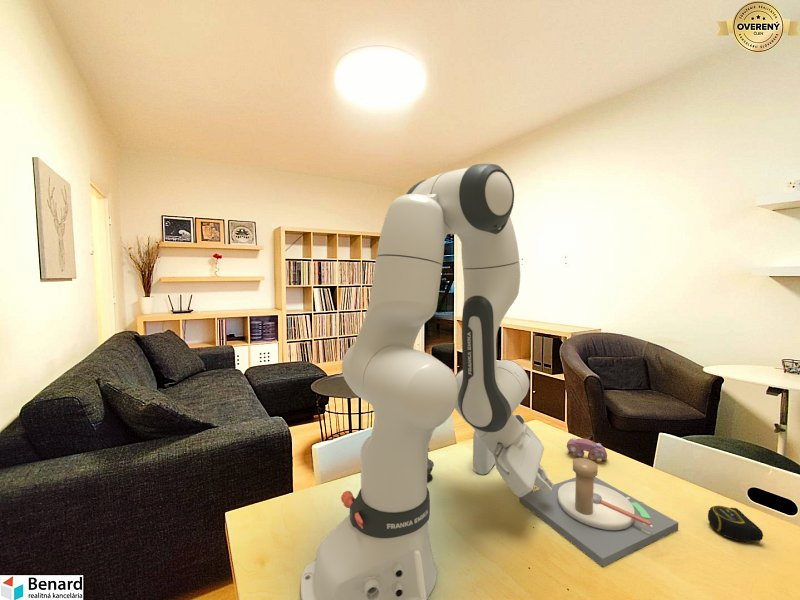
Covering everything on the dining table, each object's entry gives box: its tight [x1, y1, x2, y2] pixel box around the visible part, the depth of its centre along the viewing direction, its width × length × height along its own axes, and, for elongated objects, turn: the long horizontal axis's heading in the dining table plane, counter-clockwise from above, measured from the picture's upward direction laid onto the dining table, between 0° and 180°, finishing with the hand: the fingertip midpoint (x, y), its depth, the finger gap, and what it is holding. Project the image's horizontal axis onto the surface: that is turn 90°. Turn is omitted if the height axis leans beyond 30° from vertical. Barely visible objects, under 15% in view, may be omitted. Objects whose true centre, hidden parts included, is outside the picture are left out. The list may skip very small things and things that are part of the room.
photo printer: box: [472, 429, 495, 475], centre depth 96 cm, size 10×4×12 cm, turn 148°
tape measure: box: [707, 505, 764, 542], centre depth 71 cm, size 7×7×4 cm
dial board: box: [519, 476, 679, 568], centre depth 76 cm, size 22×20×2 cm
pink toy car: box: [566, 437, 608, 462], centre depth 100 cm, size 10×5×7 cm, turn 55°
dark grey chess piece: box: [427, 447, 435, 484], centre depth 90 cm, size 6×6×12 cm
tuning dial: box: [558, 457, 651, 530], centre depth 74 cm, size 17×14×11 cm
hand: (550, 489), depth 76 cm, fingers closed
